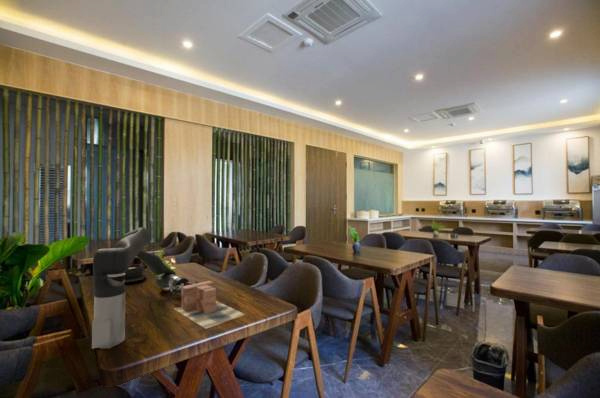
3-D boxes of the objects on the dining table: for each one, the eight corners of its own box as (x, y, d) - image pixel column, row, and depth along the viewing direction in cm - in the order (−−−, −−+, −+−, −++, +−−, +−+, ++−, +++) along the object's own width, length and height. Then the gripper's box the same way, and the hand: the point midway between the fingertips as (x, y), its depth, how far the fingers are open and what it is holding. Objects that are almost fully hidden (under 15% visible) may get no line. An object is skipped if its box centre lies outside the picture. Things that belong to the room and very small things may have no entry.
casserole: (108, 278, 181) (108, 265, 181) (140, 273, 194) (140, 261, 194) (115, 287, 163) (116, 272, 163) (151, 281, 175) (151, 267, 175)
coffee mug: (115, 296, 147) (116, 277, 147) (102, 295, 149) (102, 276, 149) (133, 289, 158) (133, 272, 158) (120, 288, 160) (120, 271, 160)
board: (173, 310, 129) (173, 308, 129) (211, 300, 143) (211, 298, 143) (205, 330, 109) (205, 328, 109) (245, 316, 123) (245, 314, 123)
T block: (181, 308, 129) (181, 286, 129) (209, 300, 139) (209, 280, 139) (195, 317, 120) (196, 293, 120) (224, 308, 130) (224, 286, 130)
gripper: (165, 279, 142) (179, 286, 131) (192, 274, 152) (207, 280, 141) (164, 294, 142) (178, 302, 131) (192, 288, 152) (207, 295, 141)
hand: (193, 290), depth 136 cm, fingers open, 8 cm apart
